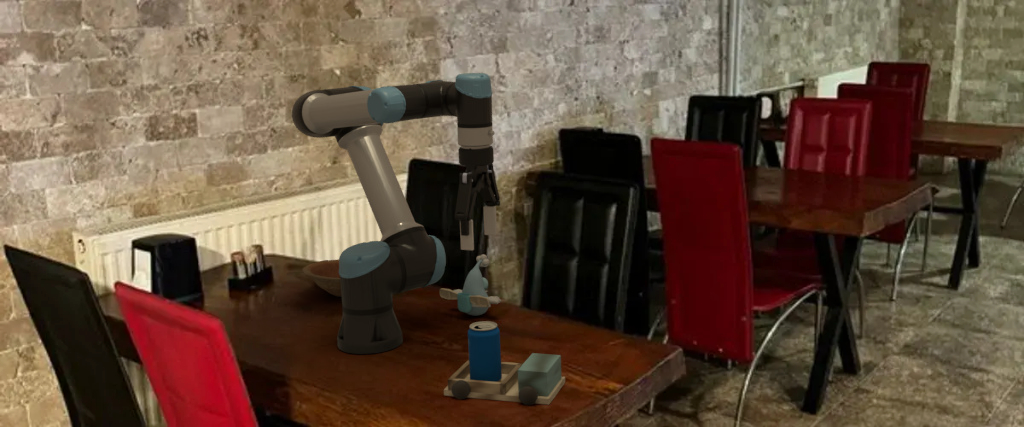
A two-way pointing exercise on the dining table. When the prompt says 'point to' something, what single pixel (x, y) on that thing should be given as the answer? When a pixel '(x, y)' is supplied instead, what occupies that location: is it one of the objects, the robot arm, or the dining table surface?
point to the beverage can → (484, 351)
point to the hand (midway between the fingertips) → (479, 242)
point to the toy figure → (473, 291)
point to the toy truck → (513, 381)
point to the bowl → (325, 275)
